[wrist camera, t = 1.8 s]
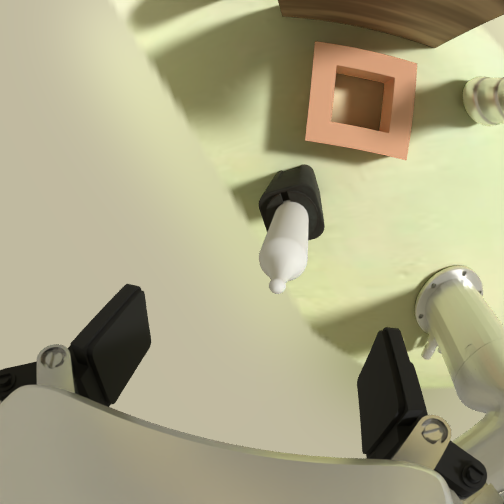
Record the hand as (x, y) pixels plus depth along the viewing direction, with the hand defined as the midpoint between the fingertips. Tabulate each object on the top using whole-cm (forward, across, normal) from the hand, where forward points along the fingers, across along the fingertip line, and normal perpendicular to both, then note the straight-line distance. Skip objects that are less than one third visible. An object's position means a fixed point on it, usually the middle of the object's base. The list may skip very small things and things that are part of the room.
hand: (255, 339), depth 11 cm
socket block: (+29, -7, -12) cm, 32 cm away
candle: (+29, -1, 0) cm, 29 cm away
